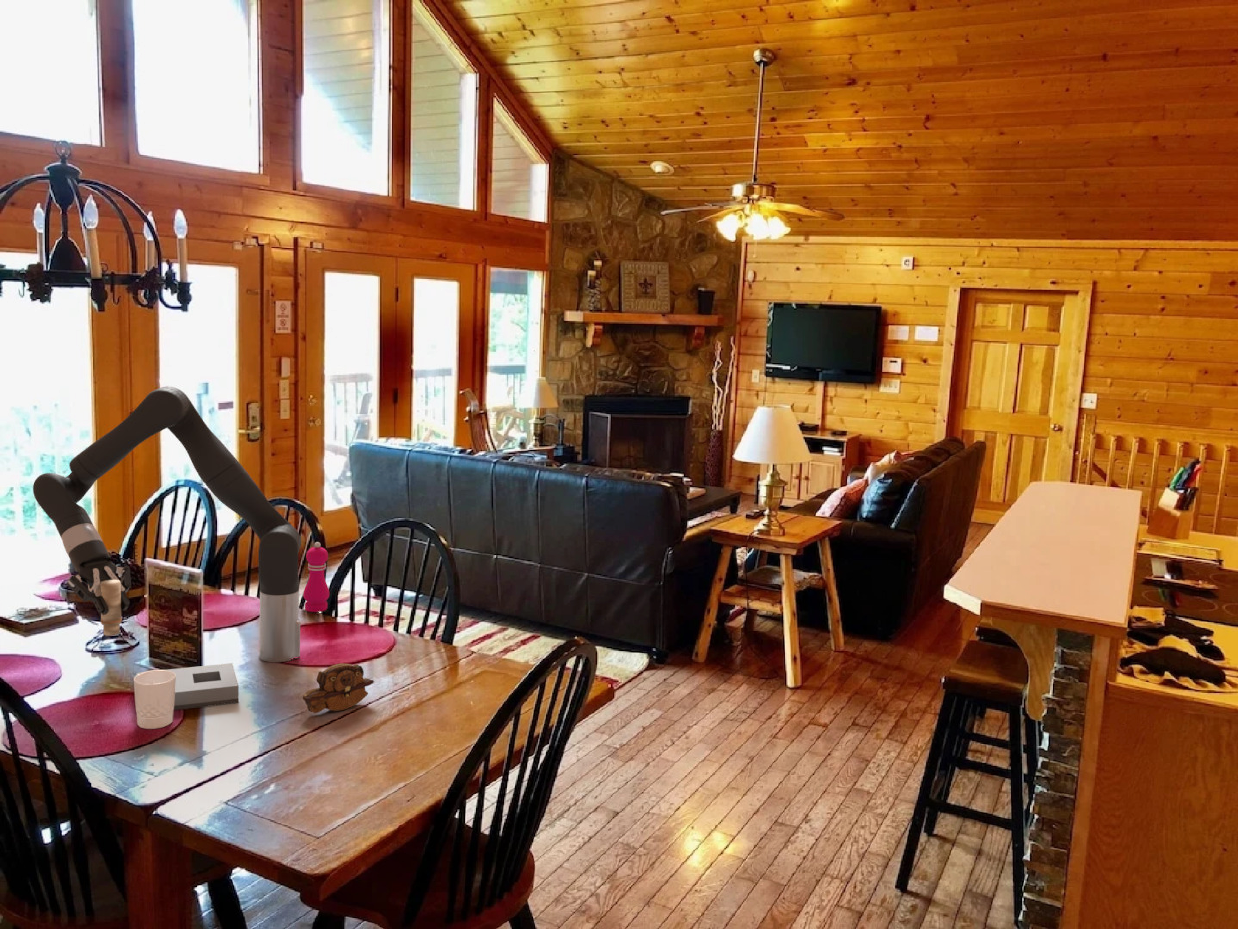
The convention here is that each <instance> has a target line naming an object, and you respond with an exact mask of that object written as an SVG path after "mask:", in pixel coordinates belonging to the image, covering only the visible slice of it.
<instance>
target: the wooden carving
mask: <svg viewBox="0 0 1238 929" xmlns="http://www.w3.org/2000/svg"><path fill="white" fill-rule="evenodd" d="M364 673H365V672H364V669H363V667H362V665H359V664H357V663H355V664H351V663H337V664H333V665H330V666H329V667H327V668H325V669H324V670H323V671H321V670H319V671H318V674H317V676H316V682H317V683H318V685H319V687H317V688H313V689H310V690H308V691H306V692H305V693H304V694H303V695H302V700H303V701H304V702H305V704H306V708H307V710H308V712H309V713H313V714H318V713H320V712H322V711H323V710H328V711H334V712H335V711H338V712H339V711H343V710H347V709H349V707H350V708H352V707H354V706H355V705H357V704H359V703H360V702H361V701H362V700H364V699H365V698H366V697H367V696H368V694H369V692H367V690H366V687H368V686H371V685H373V684H374V679H370V678H368V677H367V678H366V677H365V678H364Z"/></svg>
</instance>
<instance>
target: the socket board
mask: <svg viewBox="0 0 1238 929" xmlns="http://www.w3.org/2000/svg"><path fill="white" fill-rule="evenodd" d="M166 670H167V671H171V672H174V673H175V674H176V684H175V703H174V709H173V711H178V710H179V709H180V710H186V709H187V710H188V709H196V708H205V707H212V706H213V707H214V706H221V705H232V704H239V703H240V702H239V695H240V694H239V690H240V689H239V686H240V685H239V683H238V679H237V676H236V674H237V673H236V672H235V668H234V665H233V663H232V662H230V663H221V664H209V665H201V666H199V665H198V666H191V667H190V666H189V667H181V668H179V667H178V668H170V669H166ZM143 672H144V671H140V672H136V676H137V675H138V674H141V673H143ZM180 710H179V711H180Z"/></svg>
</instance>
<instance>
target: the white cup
mask: <svg viewBox="0 0 1238 929" xmlns="http://www.w3.org/2000/svg"><path fill="white" fill-rule="evenodd" d="M167 670H168V669H154V670H148V671H142V672H143V673H141V674H138V675H137V674H136V675H135V676H134V677H133V685H134V688H133V689H134V702H135V703H134V704H135V712H136V724H137V726H139V728H142V729H147V730H153V729H154V730H155V729H161V728H164V727H166V726H167V727H168V726H169V725H170V724H171V723H172V724H173V721H174V710H173V709H174V703H175V684H176V674H175V673H174V672H171V671H167Z"/></svg>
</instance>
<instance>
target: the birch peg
mask: <svg viewBox="0 0 1238 929" xmlns="http://www.w3.org/2000/svg"><path fill="white" fill-rule="evenodd" d="M100 592H101V597H103V598H104V600H105V602H106V604H107V606H108V608H109V611H108V613H107V614H106V615H102V614H101V613H100V624H101V625H102V626H103V627H102V628H103V635H104V636H107V637H112V636H117V635H119V634H120V632H121V630H120V624H122V621H123V618H122V609H121V580H120V579H119V580H105V581H102V582H101V583H100Z"/></svg>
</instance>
